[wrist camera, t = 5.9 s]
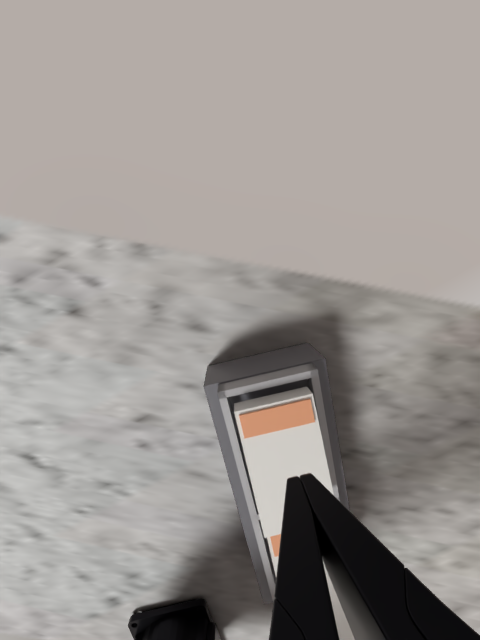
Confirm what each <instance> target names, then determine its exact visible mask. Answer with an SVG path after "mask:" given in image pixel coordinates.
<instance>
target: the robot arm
mask: <svg viewBox="0 0 480 640" xmlns="http://www.w3.org/2000/svg"><path fill="white" fill-rule="evenodd" d="M322 559H323V560H322ZM323 562H324V564H323ZM324 565H325V567H326V570H327V572H328V575H329V577H330V580H331V582H332V585H333V587H334V589H335V592H336V594H337V597H338V599H339V602H340V604H341V607H342V609H343V612H344V614H345V617H346V619H347V621H348V624H349V626H350V629H351V631H352V634H353V636H354V639H355V640H480V635H479V634H478V633H476V632H475V631H474V630H473V629H472V628H471V627H470V626H468V625H467V624H466V623H465V622H464V621H463V620H462V619H460V618H459V617H458V616H457V615H456V614H455V613H454V612H453V611H451V610H450V609H449V608H448V607H447V606H446V605H445V604H444V603H443V602H442V601H441V600H439V599H438V598H437V597H436V596H435V595H434V594H433V593H432V592H431V591H430V590H429V589H428V588H427V587H426V586H425V585H424V584H423V583H422V582H421V581H420V580H419V579H418V578H417V577H416V576H415V575H414V574H413V573H412V572H411V571H410V570H409V569H407V568H404V565H403V564H402V563H401V562H400V561H399V560H398V559H397V558H396V557H395V556H394V555H393V554H392V553H391V552H390V551H389V550H388V549H387V548H386V547H385V546H384V545H383V544H382V543H381V542H380V541H379V540H378V539H377V538H376V537H375V536H374V535H373V534H372V533H371V532H370V531H369V530H368V529H367V528H366V527H365V526H364V525H363V524H362V523H361V522H360V521H359V520H358V519H357V518H356V517H355V516H354V515H353V514H352V513H351V512H350V511H349V510H348V509H347V508H346V507H345V506H344V505H343V504H342V503H341V502H340V501H339V500H338V499H337V498H336V497H335V496H334V495H333V494H332V493H331V492H330V491H329V490H328V489H327V488H326V487H325V486H324V485H323V484H322V483H321V482H320V481H319V480H318V479H317V478H316V477H315V476H314V475H313V474H311V473H307V474H303V475H300V477H299V476H294V477H290V478H288V479H287V483H286V492H285V501H284V511H283V520H282V529H281V538H280V548H279V557H278V566H277V576H276V585H275V594H274V597H275V599H274V602H273V611H272V620H271V627H270V635H269V640H339V635H338V631H337V626H336V621H335V616H334V612H333V607H332V602H331V597H330V593H329V588H328V583H327V578H326V574H325V569H324ZM128 627H129V629H130V632H131V634H132V636H133V638H134V640H221V638H220V635H219V632H218V629H217V627H216V624H215V623H214V622H213V621H212V618H211V615H210V612H209V609H208V606H207V604H206V601H205V600H203V599H197V600H193V601H188V602H184V603H180V604H176V605H172V606H167V607H163V608H159V609H155V610H151V611H146V612H142V613H138V614H134V615H132V616H131V617H130V620H129V624H128Z"/></svg>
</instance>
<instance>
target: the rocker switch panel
mask: <svg viewBox="0 0 480 640" xmlns="http://www.w3.org/2000/svg"><path fill="white" fill-rule="evenodd" d="M302 387H308V389H309V390H310V391H311V392H312V393H313V397H314V402H315V407H316V411H317V416H318V421H319V426H320V431H321V435H322V440H323V445H324V450H325V455H326V459H327V464H328V469H329V474H330V479H331V483H332V488H333V493H334V496H335V497H336V498H337V499H338V500H339V501H340V502H341V503H342V504H343V505H344V506H345V507H346V508H347V509H348V510H349V511H350V509H349V502H348V496H347V490H346V484H345V477H344V471H343V465H342V459H341V453H340V446H339V440H338V434H337V428H336V421H335V415H334V409H333V403H332V396H331V390H330V384H329V378H328V371H327V365H326V359H325V357H324V356H322V355H321V354H320V353H319V352H318V351H317V350H316V349H315V348H313V347H312V346H311V345H310V344H309V343H304V344H300V345H296V346H291V347H287V348H283V349H278V350H274V351H270V352H265V353H261V354H257V355H253V356H248V357H244V358H240V359H235V360H231V361H227V362H222V363H218V364H214V365H209V366H208V367H207V372H206V377H205V382H204V390H205V393H206V397H207V400H208V404H209V408H210V411H211V415H212V418H213V422H214V426H215V429H216V433H217V436H218V440H219V444H220V447H221V451H222V454H223V458H224V462H225V465H226V469H227V472H228V476H229V480H230V483H231V487H232V490H233V494H234V498H235V501H236V505H237V508H238V512H239V516H240V519H241V523H242V526H243V530H244V534H245V537H246V541H247V544H248V548H249V552H250V555H251V559H252V562H253V566H254V570H255V573H256V577H257V580H258V584H259V588H260V591H261V595H262V598H263V602H264V604H268V603H272V602H274V599H275V597H274V594H275V585H276V575H275V571H274V566H273V562H272V558H271V553H270V549H269V544H268V540H267V538H264V534H263V530H262V526H261V521H260V517H259V513H258V509H257V505H256V501H255V496H254V492H253V488H252V484H251V480H250V476H249V472H248V467H247V463H246V459H245V455H244V451H243V447H242V443H241V438H240V434H239V430H238V426H237V422H236V418H235V414H234V403H238V402H242V401H246V400H251V399H255V398H259V397H264V396H268V395H272V394H276V393H281V392H285V391H289V390H294V389H298V388H302Z"/></svg>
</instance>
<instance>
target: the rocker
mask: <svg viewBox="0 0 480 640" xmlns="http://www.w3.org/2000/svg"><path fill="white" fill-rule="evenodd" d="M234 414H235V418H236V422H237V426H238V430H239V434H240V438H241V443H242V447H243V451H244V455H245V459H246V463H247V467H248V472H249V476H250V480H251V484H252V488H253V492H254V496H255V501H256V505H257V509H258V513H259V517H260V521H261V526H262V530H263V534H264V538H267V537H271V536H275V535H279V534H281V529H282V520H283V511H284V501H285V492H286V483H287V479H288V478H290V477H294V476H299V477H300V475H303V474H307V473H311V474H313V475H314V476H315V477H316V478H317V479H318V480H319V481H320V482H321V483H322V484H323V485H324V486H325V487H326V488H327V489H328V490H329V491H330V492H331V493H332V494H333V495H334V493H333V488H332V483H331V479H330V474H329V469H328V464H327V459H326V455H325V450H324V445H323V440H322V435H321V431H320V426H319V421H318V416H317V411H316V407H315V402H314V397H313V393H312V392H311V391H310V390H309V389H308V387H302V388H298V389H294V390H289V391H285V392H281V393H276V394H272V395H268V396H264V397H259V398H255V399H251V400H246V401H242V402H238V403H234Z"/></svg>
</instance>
